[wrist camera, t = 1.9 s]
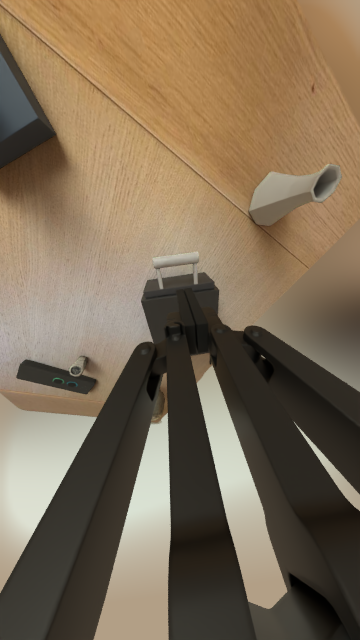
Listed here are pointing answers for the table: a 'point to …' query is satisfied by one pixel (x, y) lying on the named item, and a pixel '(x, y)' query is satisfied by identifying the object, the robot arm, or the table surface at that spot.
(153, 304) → the drawer cabinet
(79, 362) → the wristwatch
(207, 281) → the open drawer with handle
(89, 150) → the table surface
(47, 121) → the timer panel
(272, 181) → the flask
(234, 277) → the table surface
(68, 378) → the smart home device
